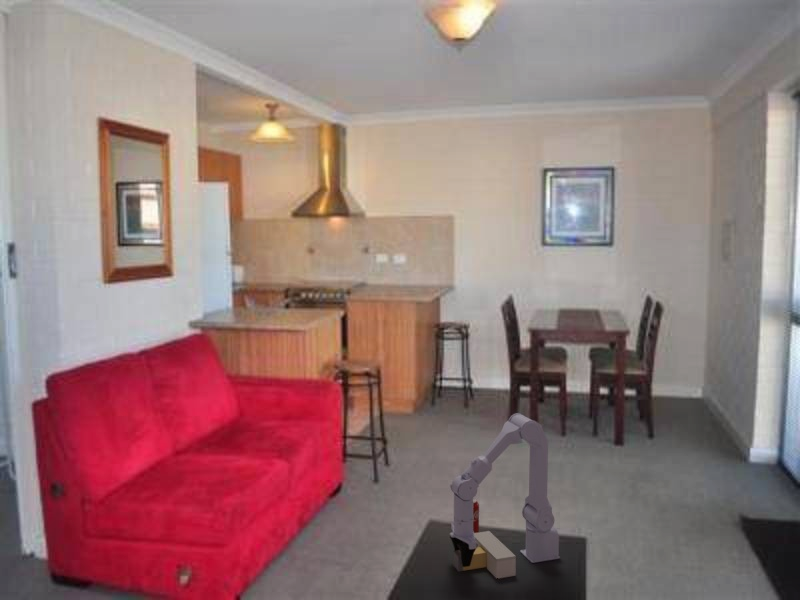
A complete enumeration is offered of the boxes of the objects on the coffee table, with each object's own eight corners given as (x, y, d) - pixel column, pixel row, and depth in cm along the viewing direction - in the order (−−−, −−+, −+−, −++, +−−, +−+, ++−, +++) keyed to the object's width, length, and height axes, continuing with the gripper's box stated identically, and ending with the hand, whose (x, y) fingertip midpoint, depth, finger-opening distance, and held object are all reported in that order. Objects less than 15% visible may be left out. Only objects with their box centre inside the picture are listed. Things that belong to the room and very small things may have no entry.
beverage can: (479, 539, 225) (479, 503, 224) (460, 539, 225) (460, 503, 224) (477, 531, 232) (478, 496, 230) (458, 531, 232) (458, 496, 231)
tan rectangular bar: (488, 559, 211) (488, 545, 211) (494, 565, 207) (494, 551, 207) (453, 565, 208) (453, 551, 207) (458, 571, 204) (458, 556, 203)
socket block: (488, 548, 219) (489, 530, 218) (515, 575, 202) (515, 556, 201) (471, 551, 217) (471, 533, 216) (496, 578, 200) (496, 559, 199)
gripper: (441, 510, 211) (441, 553, 212) (460, 529, 197) (460, 575, 198) (463, 507, 213) (463, 550, 214) (483, 526, 199) (483, 572, 200)
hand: (463, 562), depth 206 cm, fingers closed on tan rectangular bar, 4 cm apart
